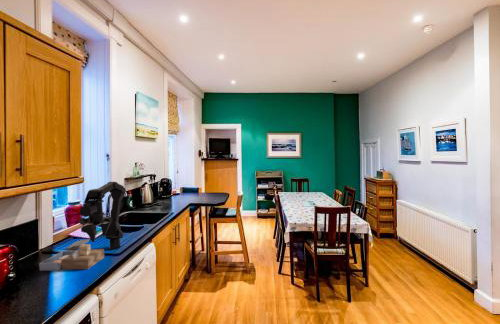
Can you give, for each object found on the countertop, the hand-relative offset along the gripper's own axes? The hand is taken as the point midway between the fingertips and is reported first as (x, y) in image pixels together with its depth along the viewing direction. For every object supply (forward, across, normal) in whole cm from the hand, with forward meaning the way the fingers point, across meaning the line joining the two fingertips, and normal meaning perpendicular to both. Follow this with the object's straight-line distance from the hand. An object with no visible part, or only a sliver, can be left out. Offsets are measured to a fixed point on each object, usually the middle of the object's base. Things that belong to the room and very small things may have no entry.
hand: (98, 238), depth 141 cm
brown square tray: (+12, +5, -6) cm, 14 cm away
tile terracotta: (+9, +9, -18) cm, 22 cm away
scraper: (+7, +5, -5) cm, 10 cm away
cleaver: (+13, -16, -30) cm, 36 cm away
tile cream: (+9, +3, -18) cm, 21 cm away
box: (+12, +6, -18) cm, 23 cm away
